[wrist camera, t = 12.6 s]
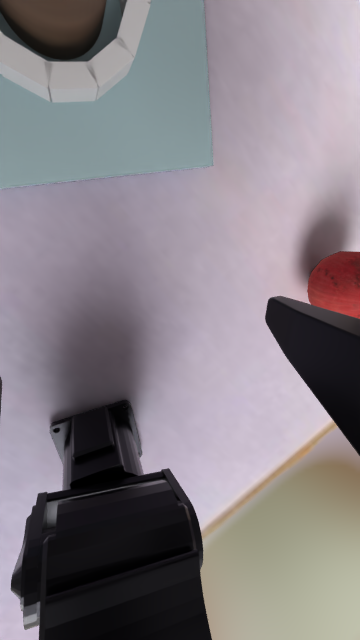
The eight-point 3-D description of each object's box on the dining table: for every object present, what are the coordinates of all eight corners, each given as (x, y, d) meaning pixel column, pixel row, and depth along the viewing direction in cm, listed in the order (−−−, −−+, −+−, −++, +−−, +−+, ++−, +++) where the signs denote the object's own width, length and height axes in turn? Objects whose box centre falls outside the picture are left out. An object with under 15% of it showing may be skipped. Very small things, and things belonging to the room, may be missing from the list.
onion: (281, 263, 25) (364, 286, 18) (334, 234, 26) (433, 246, 19) (293, 317, 27) (369, 356, 20) (340, 290, 28) (429, 318, 21)
